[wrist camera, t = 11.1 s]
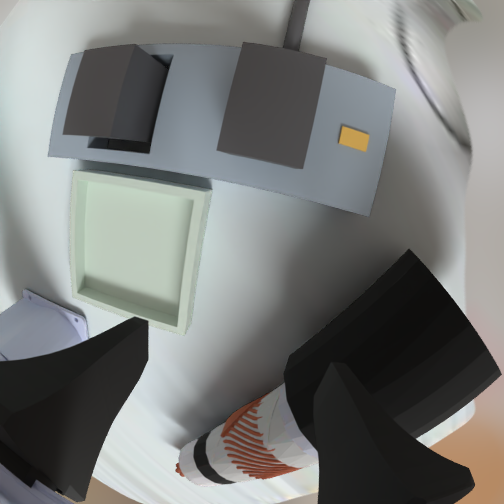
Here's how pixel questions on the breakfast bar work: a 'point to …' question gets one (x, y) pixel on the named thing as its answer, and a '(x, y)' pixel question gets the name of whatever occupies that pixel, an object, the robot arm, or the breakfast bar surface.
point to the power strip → (206, 119)
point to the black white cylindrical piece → (365, 369)
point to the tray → (137, 245)
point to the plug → (116, 94)
